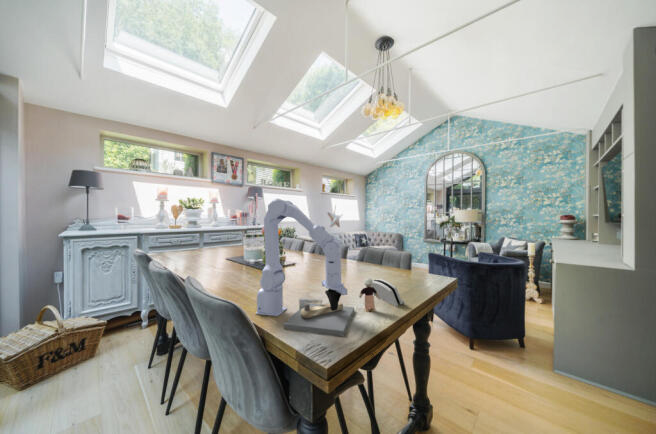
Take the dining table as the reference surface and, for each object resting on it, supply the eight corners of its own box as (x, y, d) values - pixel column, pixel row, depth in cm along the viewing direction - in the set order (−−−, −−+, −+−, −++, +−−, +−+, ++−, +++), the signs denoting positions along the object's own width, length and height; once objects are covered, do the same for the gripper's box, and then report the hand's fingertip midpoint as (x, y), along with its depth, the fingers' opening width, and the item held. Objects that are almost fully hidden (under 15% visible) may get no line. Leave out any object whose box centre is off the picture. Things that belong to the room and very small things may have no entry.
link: (303, 319, 78) (303, 308, 78) (298, 315, 81) (298, 304, 82) (343, 310, 85) (343, 299, 85) (337, 306, 89) (337, 296, 89)
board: (283, 328, 75) (283, 324, 75) (305, 306, 95) (305, 303, 95) (343, 335, 70) (343, 331, 70) (354, 311, 89) (353, 307, 89)
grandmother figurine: (374, 307, 93) (374, 275, 93) (379, 310, 89) (379, 278, 89) (357, 310, 90) (357, 277, 90) (362, 313, 87) (361, 279, 87)
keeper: (299, 310, 87) (299, 299, 87) (301, 308, 89) (301, 297, 89) (320, 312, 84) (320, 301, 85) (322, 310, 86) (322, 299, 86)
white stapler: (406, 304, 95) (399, 283, 94) (397, 310, 93) (390, 288, 92) (381, 293, 110) (374, 274, 109) (373, 298, 108) (367, 279, 107)
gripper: (354, 274, 80) (355, 314, 79) (332, 268, 92) (332, 302, 92) (337, 277, 76) (338, 318, 76) (316, 270, 89) (317, 305, 88)
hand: (334, 309), depth 84 cm, fingers closed
